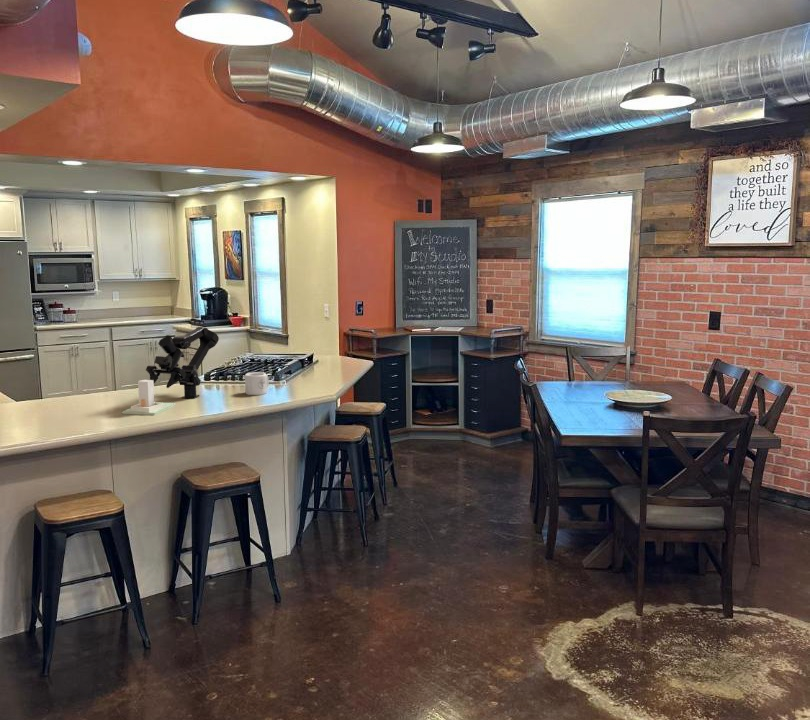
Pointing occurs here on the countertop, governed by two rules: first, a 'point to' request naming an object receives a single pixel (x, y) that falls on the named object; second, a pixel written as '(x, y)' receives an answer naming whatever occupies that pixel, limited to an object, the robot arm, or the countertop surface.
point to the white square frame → (147, 408)
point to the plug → (146, 393)
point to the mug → (256, 383)
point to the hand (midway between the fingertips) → (158, 387)
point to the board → (165, 406)
